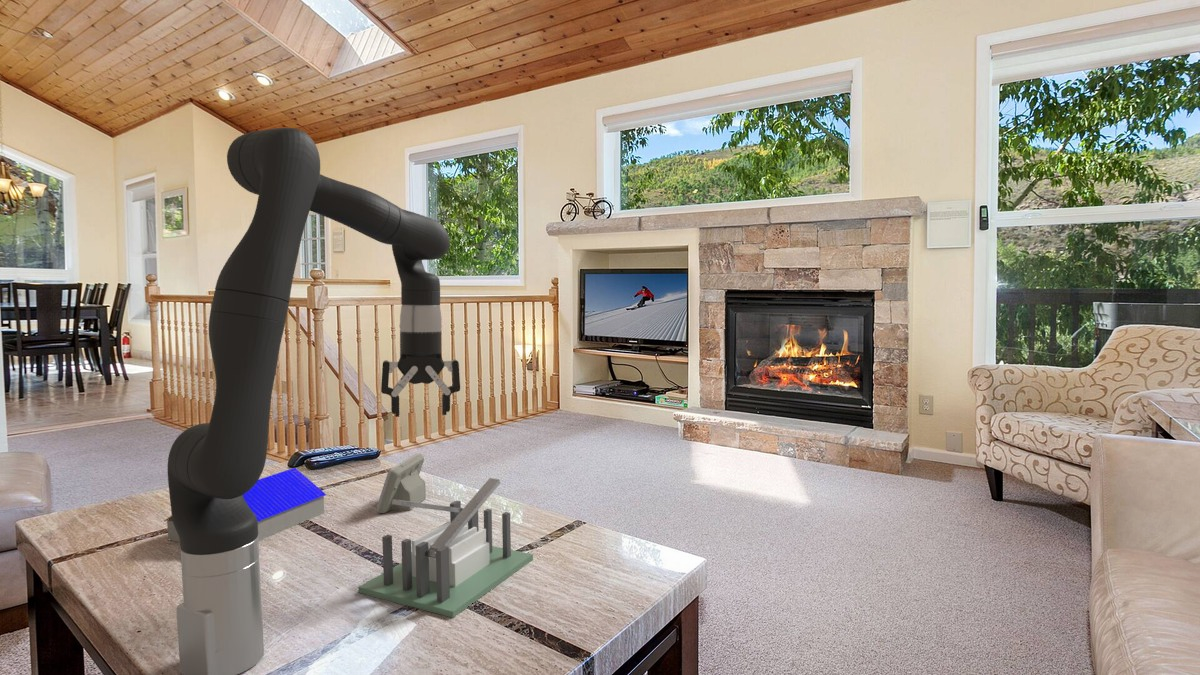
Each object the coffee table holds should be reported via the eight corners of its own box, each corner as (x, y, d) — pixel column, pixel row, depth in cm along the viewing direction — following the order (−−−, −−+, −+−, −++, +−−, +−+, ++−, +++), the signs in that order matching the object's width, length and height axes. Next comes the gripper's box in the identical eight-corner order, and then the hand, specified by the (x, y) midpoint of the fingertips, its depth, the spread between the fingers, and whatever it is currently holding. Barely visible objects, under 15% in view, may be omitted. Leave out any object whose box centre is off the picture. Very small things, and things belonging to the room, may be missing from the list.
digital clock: (408, 492, 164) (407, 450, 163) (438, 496, 161) (437, 454, 160) (364, 513, 149) (363, 468, 148) (397, 518, 146) (395, 471, 145)
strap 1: (402, 506, 109) (403, 500, 109) (391, 504, 110) (392, 498, 110) (470, 514, 126) (470, 509, 127) (460, 512, 127) (461, 507, 128)
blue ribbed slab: (327, 514, 149) (325, 471, 149) (229, 556, 126) (226, 506, 126) (268, 504, 156) (266, 463, 156) (164, 542, 133) (161, 495, 133)
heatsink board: (453, 617, 102) (451, 558, 101) (358, 592, 110) (356, 537, 110) (532, 559, 123) (532, 510, 123) (448, 541, 132) (447, 495, 131)
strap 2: (437, 559, 105) (435, 555, 105) (425, 557, 106) (424, 553, 106) (500, 483, 121) (499, 479, 121) (490, 481, 122) (489, 477, 122)
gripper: (380, 330, 116) (381, 420, 116) (461, 330, 120) (461, 417, 121) (380, 328, 123) (381, 413, 124) (457, 328, 127) (457, 410, 128)
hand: (421, 415), depth 122 cm, fingers open, 8 cm apart
